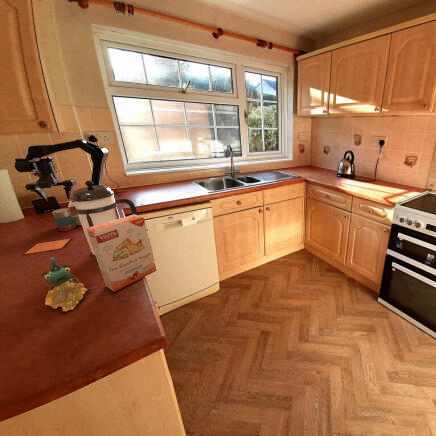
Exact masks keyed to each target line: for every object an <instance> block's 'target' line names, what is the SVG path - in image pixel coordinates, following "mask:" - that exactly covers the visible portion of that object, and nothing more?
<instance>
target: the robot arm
mask: <svg viewBox="0 0 436 436" xmlns="http://www.w3.org/2000/svg"><path fill="white" fill-rule="evenodd" d="M75 149H80V150H82V151H84V152H85V153H86V154H88V155H90V160H91V162H92V171H91V179H90V181H92V182H93V185H92V186H102V184H103V175H104V168H105V167H104V166H105V163H106V162H107V160H108V158H109V154H110V152H109V150H108V149H107V148H106V147H104V146H99V145H97V144H95V143H92V142H89V141H87V140H86V139H83V138H79V139H75V140H70V141H65V142H59V143H55V144H37V145H36V144H35V145H29V146H28V147H27V154H26V156H25V158H23V157H17V158H14V160H15V161H14V169H15V170H16V172H18V173H35V172H37V171H38V179H37V180H36V181H34V182H29V183H27V184H25V185H24V187H25V189H26V191H30V192H33V193H36V194H37V195H39V197H40V198H41V199H42V200H44V202H46V203H48V197H47V194H46V191H45V189H51V188H52V187H60V186H63V190H64V192H65V195H66V198H67V200H68V201H70V200H71V199H70V198H71V195H72V190H73V188H74V187H75V186H76V185H77V184H78V183H77V181H76V179H74V178H71V179H65V180H62V181H60V179H59V178H58V177H57V171H55V169H54V167H53V163H52V162H56V161H57V159H55V158H54V157H52V155H54V154H56V153H58V152H63V151H68V150H75Z"/></svg>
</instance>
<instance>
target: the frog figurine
mask: <svg viewBox="0 0 436 436" xmlns="http://www.w3.org/2000/svg"><path fill="white" fill-rule="evenodd" d="M49 261H50V263H51V265H52V267H50V268H49V271H48V272H47V271H44V272H42V274H41V275H40V278H44V279H45V280H46V283H47V284H46V286H47V287H48V291H47V294H46V296H45V298H44V299H45V306H49V307H51V308H52V309H58V308H61V309H62V312H68V311H70V310H74V309H75V308H76V307H77V305H78V304H79V303H80V302H81V301H82V300H83V298H84V295H86V292H88V288H86V287H85V284H84V283H82V282H80V280H79V279H78V278H77V276H76V275H74V274H72V273H70V272H71V265H69V264H64V265H63V266H61V265H58V263H57V261H56V258H55V257H53V256H51V257H49ZM71 277H72V278H71ZM74 279H76V282H74V281H73V280H74ZM77 282H78V283H77ZM49 283H50V284H51V285H53V288H52V289H50V284H49Z"/></svg>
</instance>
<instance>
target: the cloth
mask: <svg viewBox="0 0 436 436" xmlns="http://www.w3.org/2000/svg"><path fill="white" fill-rule="evenodd" d="M70 240H71V238H65V239H58V240H52V241H45V242H39V243H35V245H33V246H32V247H31V248H30V249H28V250H27V251H26V252H25V253H24V255H27V254H34V253H35V254H36V253H41V252H46V251H47V252H48V251H52V250H58V249H62V248H64V246H65V245H66V244H67V243H68V242H70Z"/></svg>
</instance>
